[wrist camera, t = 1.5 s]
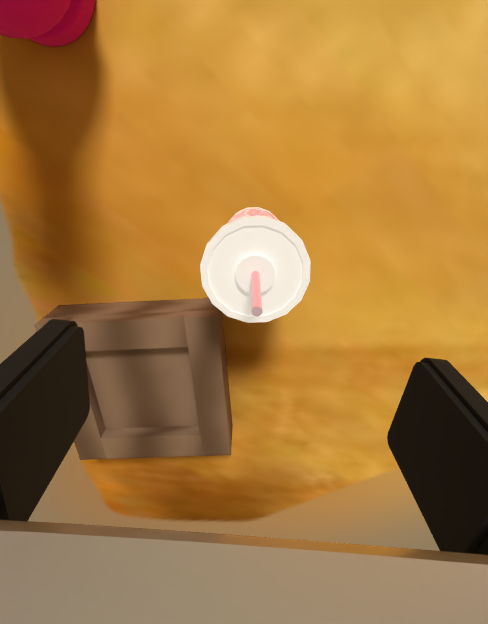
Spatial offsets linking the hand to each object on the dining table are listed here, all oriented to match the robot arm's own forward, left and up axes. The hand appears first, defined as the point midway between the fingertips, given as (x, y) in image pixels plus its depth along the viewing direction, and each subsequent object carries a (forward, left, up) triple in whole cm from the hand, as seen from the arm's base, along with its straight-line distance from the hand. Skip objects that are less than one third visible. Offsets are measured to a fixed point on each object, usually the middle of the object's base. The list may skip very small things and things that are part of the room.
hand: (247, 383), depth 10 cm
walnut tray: (+10, +12, -20) cm, 25 cm away
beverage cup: (0, 0, -19) cm, 19 cm away
